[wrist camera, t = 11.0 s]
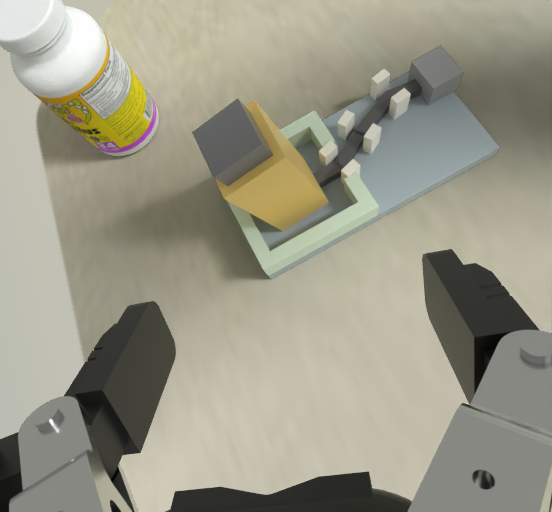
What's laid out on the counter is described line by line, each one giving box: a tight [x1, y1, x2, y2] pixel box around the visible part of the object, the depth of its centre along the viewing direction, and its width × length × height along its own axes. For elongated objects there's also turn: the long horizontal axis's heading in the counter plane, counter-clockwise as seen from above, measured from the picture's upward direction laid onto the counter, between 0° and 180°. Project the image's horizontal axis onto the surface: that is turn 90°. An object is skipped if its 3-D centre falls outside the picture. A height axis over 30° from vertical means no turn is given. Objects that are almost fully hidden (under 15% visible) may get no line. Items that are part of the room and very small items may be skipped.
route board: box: [227, 45, 500, 279], centre depth 30 cm, size 19×9×3 cm, turn 118°
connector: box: [192, 99, 329, 231], centre depth 25 cm, size 4×4×10 cm
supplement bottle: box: [0, 0, 159, 156], centre depth 30 cm, size 7×7×13 cm
